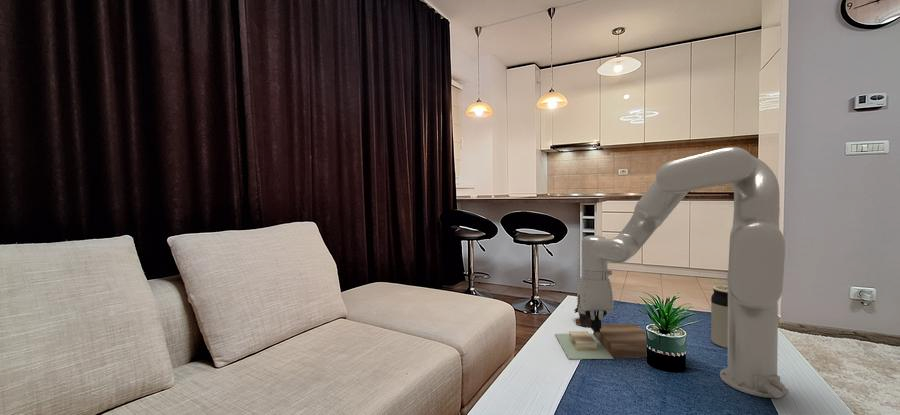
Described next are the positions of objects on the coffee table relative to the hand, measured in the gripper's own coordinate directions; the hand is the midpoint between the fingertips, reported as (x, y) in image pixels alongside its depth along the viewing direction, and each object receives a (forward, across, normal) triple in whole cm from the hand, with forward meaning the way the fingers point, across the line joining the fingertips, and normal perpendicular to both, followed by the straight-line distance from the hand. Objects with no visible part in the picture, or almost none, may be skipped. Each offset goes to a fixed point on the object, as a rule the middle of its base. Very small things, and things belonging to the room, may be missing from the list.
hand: (595, 330), depth 112 cm
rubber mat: (+5, +4, 0) cm, 7 cm away
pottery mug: (+5, -4, -19) cm, 20 cm away
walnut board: (+5, -9, 0) cm, 10 cm away
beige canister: (+5, -41, -1) cm, 41 cm away
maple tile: (+2, +4, 0) cm, 5 cm away
